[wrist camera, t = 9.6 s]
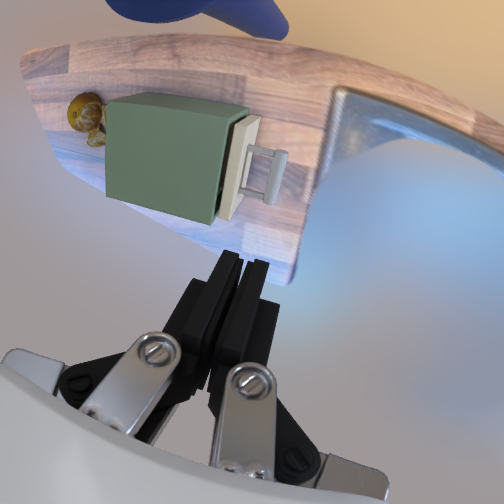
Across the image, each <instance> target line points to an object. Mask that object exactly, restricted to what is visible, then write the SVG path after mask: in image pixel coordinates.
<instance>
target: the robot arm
mask: <svg viewBox="0 0 504 504" xmlns="http://www.w3.org/2000/svg"><path fill="white" fill-rule="evenodd" d="M243 261H244V259H240V258H239V254H238V253H235V252H231V251H228V250H224V251H223V253H222V254H221V256H220V258H219V260H218V262H217V264H216V266H215V268H214V270H213V272H212V273H211V275H210V277H209V279H208V281H207V282H205V281H201V280H198V279H195V278H193V279H192V280H191V282H190V283H189V285H188V287H187V288H186V290H185V292H184V294H183V295H182V297H181V299H180V301H179V302H178V304H177V306H176V308H175V309H174V311H173V313H172V315H171V317H170V318H169V320H168V322H167V324H166V325H165V327H164V329H163V331H162V332H149V333H146V334H143V335H142V336H140V337H139V338H138V339H137V340H136V341H135V342H134V343H133V344H132V346H131V347H130V348H129V349H128V350H127V351H126V352H122V353H119V354H115V355H111V356H107V357H104V358H100V359H96V360H92V361H88V362H84V363H80V364H76V365H73V366H67V365H65V363H64V362H61V361H58V360H55V359H51V358H48V357H45V356H42V355H39V354H36V353H33V352H30V351H27V350H24V349H19V348H16V349H12V350H10V351H9V352H7V353H6V355H5V356H4V358H3V360H2V362H1V363H0V504H390V503H388V502H385V501H386V498H387V494H388V491H389V481H388V478H387V476H386V475H385V474H384V473H383V472H381V471H379V470H377V469H374V468H371V467H367V466H365V465H361V464H358V463H355V462H353V461H350V460H347V459H344V458H341V457H339V456H336V455H333V454H331V453H330V454H328V455H327V454H324V453H322V452H319V451H318V450H317V448H316V447H315V445H314V444H313V443H312V442H311V441H310V439H309V438H308V436H307V435H306V434H305V433H304V432H303V430H302V429H301V428H300V426H299V425H298V424H297V423H296V421H295V420H294V419H293V417H292V416H291V415H290V413H289V412H288V411H287V410H286V408H285V407H284V406H283V405H282V403H281V402H280V400H279V399H278V398H277V383H276V379H275V377H274V375H273V373H272V372H271V371H270V370H269V369H268V368H267V367H266V366H267V362H268V357H269V353H270V348H271V344H272V340H273V335H274V331H275V326H276V322H277V317H278V313H279V308H280V304H277V303H273V302H270V301H267V300H264V299H260V294H261V291H262V288H263V285H264V281H265V278H266V274H267V271H268V267H269V264H270V263H268V262H265V261H262V260H258V259H255V260H254V262H251V261H248V262H247V265H246V268H245V270H244V273H243V275H242V278H241V280H240V283H239V279H240V274H241V270H242V266H243ZM238 283H239V285H238ZM237 287H238V288H237ZM210 369H211V372H210ZM209 372H210V378H209V383H208V388H207V392H209V393H210V398H209V403H208V407H209V408H210V410H211V412H212V413H213V415H214V417H215V422H214V429H213V436H212V442H211V449H210V456H209V463H208V466H207V465H204V464H201V463H197V462H194V461H191V460H188V459H185V458H183V457H180V456H177V455H174V454H171V453H168V452H166V451H163V450H161V449H158V448H156V447H153V445H154V444H155V442H156V441H157V439H158V437H159V436H160V434H161V433H162V431H163V430H164V428H165V427H166V425H167V423H168V422H169V420H170V419H171V417H172V416H173V414H174V413H175V411H176V409H177V408H178V406H179V403H181V402H184V401H187V400H189V399H190V397H191V395H193V396H194V395H195V393H196V390H197V389H200V390H203V388H204V385H205V383H206V380H207V377H208V375H209Z"/></svg>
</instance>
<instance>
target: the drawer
mask: <svg viewBox="0 0 504 504" xmlns="http://www.w3.org/2000/svg"><path fill="white" fill-rule="evenodd" d="M260 118H261V117H259V116H255V115H250V116H248V117H246V118H245V119H243V120H241V121H240V122H238V123H237V121H235V122H233V123H232V124H230V125H229V129H228V134H227V140H226V145H225V151H224V157H223V162H222V168H221V174H220V180H219V186H218V192H217V196H218V195H219V194H220V193H221V191H222V190H223V193H222V199H221V205H220V211H219V217H218V218H220V219H223V220H227V221H229V220H230V218H231V216H232V215H233V213H234V211H235V210H236V208H237V206H238V205H239V203H240V201H241V200H242V198H243V196H244V195H247V196H250V197H254V198H258V199H261V200H263V202H264V203H265V204H267V205H275V203H276V199H277V196H278V192H279V188H280V184H281V181H282V177H283V173H284V169H285V165H286V162H287V158H288V154H289V153H288V152H287V151H285V150H281V149H276V150H275V151H274V150H271V149H267V148H263V147H259V146H255V141H256V136H257V132H258V127H259V123H260ZM253 152H255V153H259V154H263V155H267V156H270V157H273V156H274V157H273V161H272V165H271V169H270V173H269V177H268V181H267V186H266V190H265V194H264V193H261V192H258V191H254V190H250V189H247V188H245V187H246V183H247V178H248V173H249V169H250V164H251V159H252V155H253Z"/></svg>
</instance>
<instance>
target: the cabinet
mask: <svg viewBox="0 0 504 504" xmlns="http://www.w3.org/2000/svg"><path fill="white" fill-rule="evenodd" d="M248 112H249V108H247V107H243V106H238V105H233V104H228V103H223V102H217V101H211V100H206V99H199V98H193V97H186V96H179V95H172V94H164V93H155V92H144V93H140V94H135V95H131V96H126V97H122V98H118V99H114V100H110V101H107V116H106V144H105V176H106V197H110V198H113V199H117V200H120V201H124V202H128V203H131V204H135V205H139V206H142V207H146V208H149V209H153V210H157V211H160V212H164V213H167V214H171V215H175V216H178V217H182V218H185V219H189V220H192V221H196V222H199V223H203V224H206V225H210V226H211V224H212V223H213V221H214V220H215V218H216V217H217V215H218V214H219V211H220V205H221V199H222V193H223V190H222V191H221V193H220V194H219V195H218V196H217V192H218V186H219V180H220V174H221V168H222V162H223V157H224V151H225V145H226V140H227V134H228V129H229V125H230V124H232V123H233V122H235V121H237V123H238V122H240V121H241V120H243V119H245V118H246V117H248Z"/></svg>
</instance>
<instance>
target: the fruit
mask: <svg viewBox="0 0 504 504" xmlns="http://www.w3.org/2000/svg"><path fill="white" fill-rule="evenodd" d="M67 115H68V121H69V123H70V125H71V127H72V128H73V129H75V130H77V131H80V132H89V135H88V141H87V144H88V145H89V146H91V147H95V146H96V147H97V146H101V145H103V144H106V134H104V133H103V132H101V131H100V130H99V126H100V123H102V124H103V126H104V125H106V116H107V105H102V104H101V103H100V100H99V97H98V95H96V94H95V93H86V92H85V93H82V94H80V95H78V96H77V97H76V98H74V100H73V101H72V102H71V103H70V106H69V108H68V112H67Z"/></svg>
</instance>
